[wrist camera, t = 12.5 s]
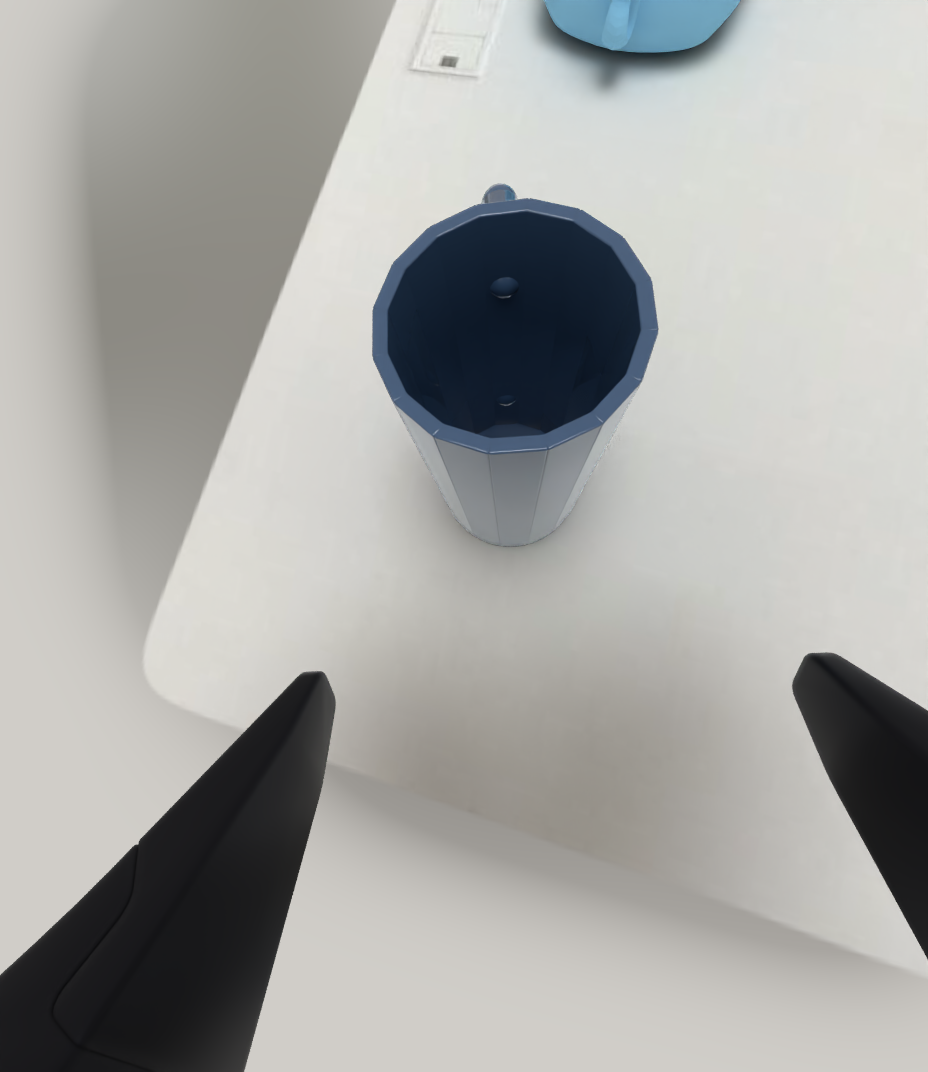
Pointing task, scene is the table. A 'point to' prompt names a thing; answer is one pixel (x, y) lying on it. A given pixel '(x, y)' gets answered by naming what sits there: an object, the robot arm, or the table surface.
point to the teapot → (641, 22)
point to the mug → (514, 356)
